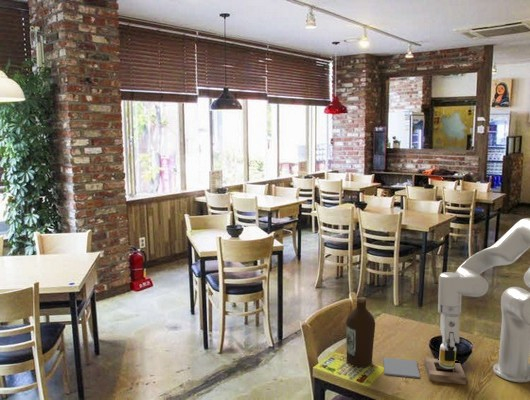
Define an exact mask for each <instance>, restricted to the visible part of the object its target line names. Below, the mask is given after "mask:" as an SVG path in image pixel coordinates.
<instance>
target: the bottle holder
mask: <svg viewBox="0 0 530 400" xmlns="http://www.w3.org/2000/svg"><path fill="white" fill-rule="evenodd" d="M438 359H439V358H432V357H431V358H430V357H424V368H425V371H426V374H427V377H428V381H429V382H439V383H446V384H447V383H448V384H459V385H467V375H466V373H465V372H464V369H463V367H462V364H461V362H460V363H455V367H454V368H452V369H446V368H443V367H441V366H440V365H439V360H438ZM440 370H444V371H440ZM447 370H448V371H447ZM450 371H451V372H450Z"/></svg>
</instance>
